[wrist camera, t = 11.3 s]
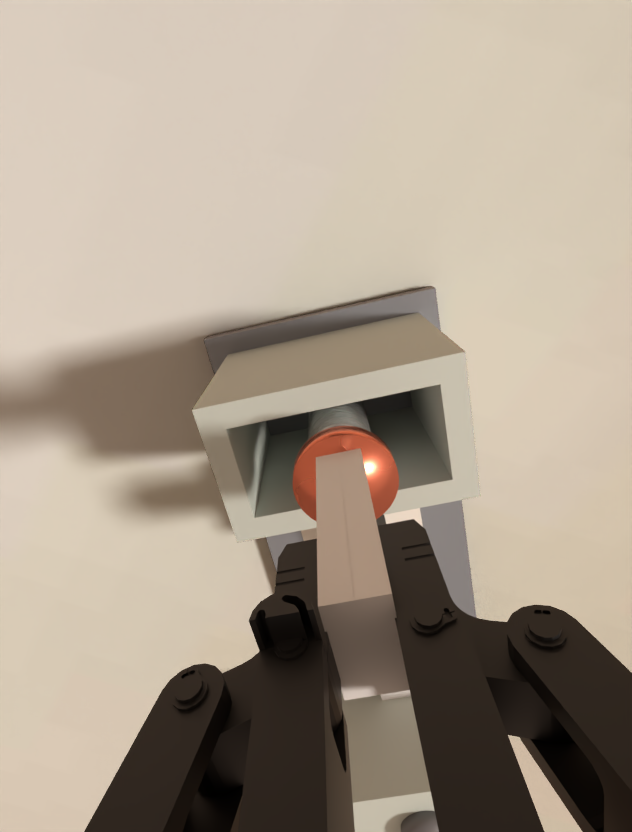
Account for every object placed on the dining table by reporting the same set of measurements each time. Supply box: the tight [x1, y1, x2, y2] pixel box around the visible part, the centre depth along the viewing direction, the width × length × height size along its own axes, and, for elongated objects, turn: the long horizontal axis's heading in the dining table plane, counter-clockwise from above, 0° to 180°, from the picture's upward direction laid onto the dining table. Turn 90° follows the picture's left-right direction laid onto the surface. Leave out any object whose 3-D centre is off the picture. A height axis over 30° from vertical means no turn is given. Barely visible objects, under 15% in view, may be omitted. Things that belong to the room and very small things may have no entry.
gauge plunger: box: [293, 401, 399, 522], centre depth 20 cm, size 4×4×9 cm
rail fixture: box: [192, 286, 481, 832], centre depth 26 cm, size 32×12×10 cm, turn 12°
